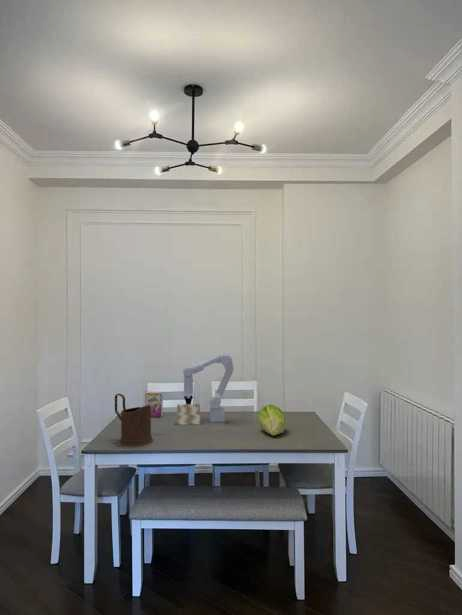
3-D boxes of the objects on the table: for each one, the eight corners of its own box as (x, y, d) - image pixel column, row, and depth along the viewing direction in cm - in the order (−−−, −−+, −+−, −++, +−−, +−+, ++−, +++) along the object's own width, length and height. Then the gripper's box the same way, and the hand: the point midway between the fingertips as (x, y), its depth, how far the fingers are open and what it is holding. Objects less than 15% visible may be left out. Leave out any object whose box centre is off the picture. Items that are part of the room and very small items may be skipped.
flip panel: (200, 423, 298) (199, 404, 299) (200, 424, 296) (200, 404, 298) (177, 424, 296) (177, 404, 298) (177, 424, 295) (177, 404, 296)
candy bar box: (144, 417, 322) (144, 392, 322) (146, 415, 327) (146, 391, 327) (161, 417, 321) (161, 393, 321) (162, 416, 326) (162, 391, 326)
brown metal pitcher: (138, 448, 250) (138, 399, 250) (103, 442, 261) (103, 396, 262) (160, 439, 266) (160, 394, 266) (126, 434, 278) (126, 391, 278)
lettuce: (288, 444, 269) (259, 446, 270) (285, 421, 293) (259, 423, 294) (286, 420, 264) (257, 422, 266) (283, 398, 288) (256, 401, 289)
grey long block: (202, 425, 298) (202, 421, 298) (202, 426, 296) (202, 421, 296) (174, 426, 297) (174, 422, 297) (174, 427, 295) (174, 422, 295)
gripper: (182, 384, 314) (182, 405, 314) (181, 388, 300) (182, 409, 299) (193, 384, 315) (193, 405, 315) (193, 387, 300) (193, 409, 300)
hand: (188, 407), depth 307 cm, fingers closed
